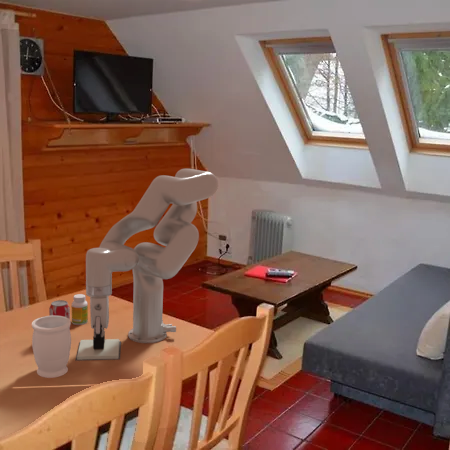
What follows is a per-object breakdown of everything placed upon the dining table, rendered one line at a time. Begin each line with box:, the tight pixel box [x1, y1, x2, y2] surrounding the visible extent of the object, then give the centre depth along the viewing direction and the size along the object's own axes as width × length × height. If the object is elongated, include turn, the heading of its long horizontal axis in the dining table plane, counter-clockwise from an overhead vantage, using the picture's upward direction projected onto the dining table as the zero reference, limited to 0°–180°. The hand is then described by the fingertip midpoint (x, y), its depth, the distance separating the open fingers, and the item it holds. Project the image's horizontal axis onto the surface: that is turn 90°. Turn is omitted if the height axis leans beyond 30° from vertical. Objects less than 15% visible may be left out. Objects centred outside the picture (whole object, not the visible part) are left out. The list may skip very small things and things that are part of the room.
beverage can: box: [48, 300, 71, 330], centre depth 180 cm, size 6×6×12 cm
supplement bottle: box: [71, 293, 89, 326], centre depth 193 cm, size 5×5×10 cm
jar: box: [31, 315, 72, 379], centre depth 157 cm, size 11×10×15 cm
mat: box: [75, 340, 122, 362], centre depth 172 cm, size 13×13×1 cm
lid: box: [76, 328, 120, 361], centre depth 172 cm, size 12×12×7 cm
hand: (99, 345), depth 172 cm, fingers closed on lid, 3 cm apart
